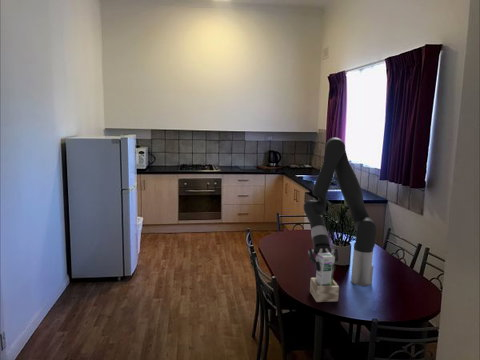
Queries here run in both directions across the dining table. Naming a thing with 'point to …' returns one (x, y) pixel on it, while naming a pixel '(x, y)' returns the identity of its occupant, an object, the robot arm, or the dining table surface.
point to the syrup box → (325, 269)
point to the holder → (324, 291)
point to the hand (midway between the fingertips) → (326, 270)
